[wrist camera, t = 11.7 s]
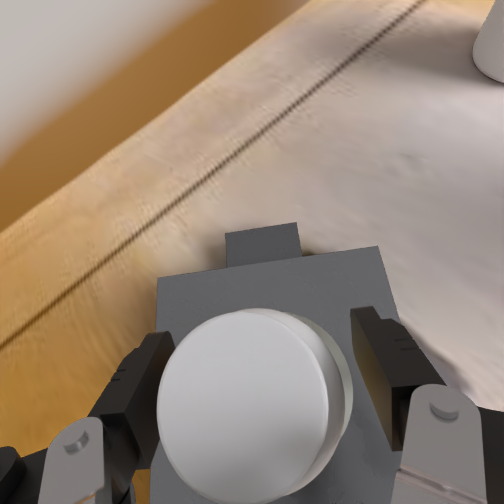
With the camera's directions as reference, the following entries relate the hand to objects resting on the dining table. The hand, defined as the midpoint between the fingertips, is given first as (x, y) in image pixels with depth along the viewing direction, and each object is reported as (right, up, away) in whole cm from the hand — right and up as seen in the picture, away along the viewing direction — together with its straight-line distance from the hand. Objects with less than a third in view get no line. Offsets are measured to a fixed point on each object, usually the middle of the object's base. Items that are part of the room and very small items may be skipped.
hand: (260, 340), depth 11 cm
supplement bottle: (+1, -4, +5) cm, 6 cm away
